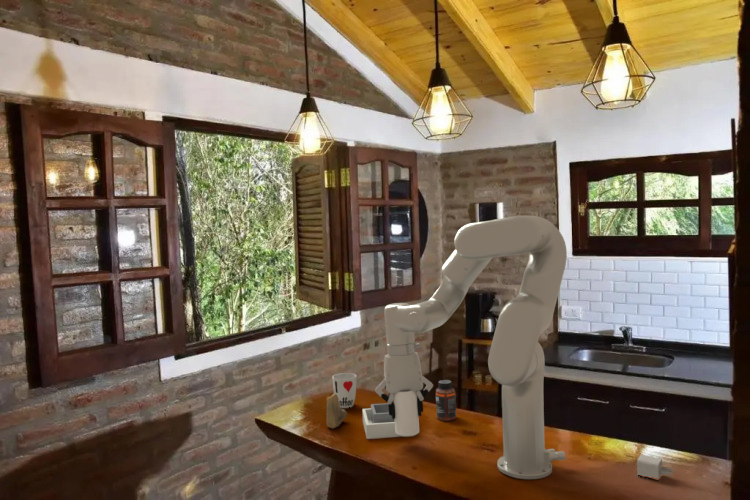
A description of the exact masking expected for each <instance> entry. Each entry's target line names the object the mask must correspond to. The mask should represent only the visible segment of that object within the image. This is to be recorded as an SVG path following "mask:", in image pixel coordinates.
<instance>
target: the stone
mask: <svg viewBox="0 0 750 500" xmlns="http://www.w3.org/2000/svg"><path fill="white" fill-rule="evenodd" d="M347 415H348V414H347V411H346V409H345V408H341V407H340V405H339V400H338V396H337V394H334V393H333V394H331V396H329V397H327V400H326V426H327V427H328V428H330V429H336V428H338V427H340V425H341V424H342V422H344V421H345V420H346V418H347Z"/></svg>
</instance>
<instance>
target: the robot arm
mask: <svg viewBox="0 0 750 500" xmlns="http://www.w3.org/2000/svg"><path fill="white" fill-rule="evenodd" d="M453 239H454V240H453V241H454V242H453V243H454V244H453V245H454V248H455V249H454V250H453V251H452V253H451V254H450V255H449V257H448V258H447V259H446V260H445V262H444V263H443V264H442V267H441V273H442V277H443V278H442V281H441V284H440V285H439V287H438V288H437V289H436V291H435V292H434V293H433V295H432V296H431V297H430V298H429V299H428V300H425V301H422V302H418V303H415V304H409V303H407V302H394V303H390V304H387V305H386V306H385V307H384V312H383V313H384V327H385V338H386V352H387V354H385V355H384V356H383V357H384V358H383V379H382V381H381V382H380V383H379V384H378V385H377V386H376V388H375V389H374V392H375V394H377V395H378V396H379V397H380V398H381V399H382V400H383V401H384V402H386V403H388V410H389V415H391V416H392V419H395V408H394V403H393V399H394V396H395V394H397V393H399V392H398V391H410V390H412V391H413V392H415V393H416V394H417V405H418V417H422V412H424V404H423V403H424V400H425V398H426V396H427V395H428V394H429V392H431V390H432V389H433V387H434V384H433V382H431V381H430V380H429V379H428V378H426V377H425V376H424V375H423V373H422V372H423V371H422V370H423V369H422V365H421V361H420V356H419V354H418V352H417V350H419V349H421V343H418V342H417V343H416V342H415V340H416V339H415V334H423V333H427V332H428V331H431V330H434V329H437V328H439V327H441V326H442V325H444V324H445V323H446V322H447V321H448V320H449V319H450V318H451V317H452V315H453V314H454V313H455V312H456V310H457V309H458V307H460V305H461V304H462V302H463V301H464V299H465V297H466V295H467V293H468V291H469V288H470V287H471V286H472V284H473V283H474V282H475V281H476V279H478V276H479V275H480V274H481V273H482V271H483V270H484V269H486V267H487V266H488V264H489V263H490V262H491V260H492V259H493V258H500V257H507V256H508V257H510V256H518V255H525V254H528V262H527V264H526V267H525V269H524V272H523V276H522V279H521V283H520V287H519V291H518V293H517V295H516V297H513V298H511V299H510V300H508V301H507V302H506V303H505V304H504V306H503V308H502V309H501V310H500V313H499V315H498V318H497V323H496V325H495V330H494V334H493V337H492V341H491V345H490V350H489V353H488V358H487V364H488V371H489V373H490V375H491V377H492V378H493V380H494V381H496V382H497V383H498V384H499V385H501V408H502V409H501V410H502V411H501V412H502V413H501V415H502V417H501V418H502V442H503V443H502V444H503V448H502V449H503V455H502V456H500V457H499V458H498V459H497V463H496V465H497V469H498V470H499V471H500V472H501V473H502V474H504V475H506V476H508V477H511V478H515V479H519V480H538V479H544V478H546V477H548V476H550V475H551V473H552V472H553V465H552V463H553V462H554V461H563V460H566V453H565V451H564V450H561V451H559V450H558V451H556V449H555V448H548V449H547V448H546V447H545V446H546V445H545V415H544V414H545V412H544V405H545V404H544V402H545V401H544V376H545V366H546V365H545V361H546V359H545V353H544V349H543V347H542V345H541V343H540V342H539V339H540V335H541V334H542V333H543V332H544V331H546V330H547V329H548V328H549V326H551V323H552V321H553V318H554V312H555V309H556V308H555V307H556V306H557V305H556V304H557V301H558V298H559V295H560V294H559V293H560V290H561V284H562V281H563V277H564V273H565V270H566V265H567V264H566V263H567V260H568V259H567V257H568V256H567V253H568V252H567V251H568V250H567V245H566V242H565V239H564V236H563V234H562V233H561V232H560V230H559V229H558V228H557V226H555V224H554V223H552V222H551V221H549V220H548V219H546V218H543V217H541V216H538V215H515V216H514V215H513V216H507V217H503V218H497V219H491V220H485V221H478V222H470V223H466V224H465V225H463V226H461V227H460V228H459V229H458V231H457V232H456V234H455V237H454V238H453ZM424 385H425V387H424ZM384 389H385V390H386V393H387V394H386V393H385V392H383V390H384Z"/></svg>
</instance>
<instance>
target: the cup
mask: <svg viewBox="0 0 750 500" xmlns="http://www.w3.org/2000/svg"><path fill="white" fill-rule="evenodd" d="M331 379H332V389H333V394H337V396H338V400H339V405H340V407H341V409H349V407H350V408H352V407H354V403H355V400H356V393H357V374H356V373H351V372H341V373H335V374H334V375H332V378H331Z"/></svg>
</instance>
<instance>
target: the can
mask: <svg viewBox="0 0 750 500" xmlns="http://www.w3.org/2000/svg"><path fill="white" fill-rule="evenodd" d="M398 392H399V393H397V394H395V396H394V399H393V403H394V408H395V419H394V420H395V431H396V434H397V435H398V436H401V437H403V438H409V437H411V438H412V437H415V436H417V435H418V434H419V433H420V422H419V419H420V418H419V415H418V405H417V394H416V393H415V392H413V391H412V390H410V391H398Z"/></svg>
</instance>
